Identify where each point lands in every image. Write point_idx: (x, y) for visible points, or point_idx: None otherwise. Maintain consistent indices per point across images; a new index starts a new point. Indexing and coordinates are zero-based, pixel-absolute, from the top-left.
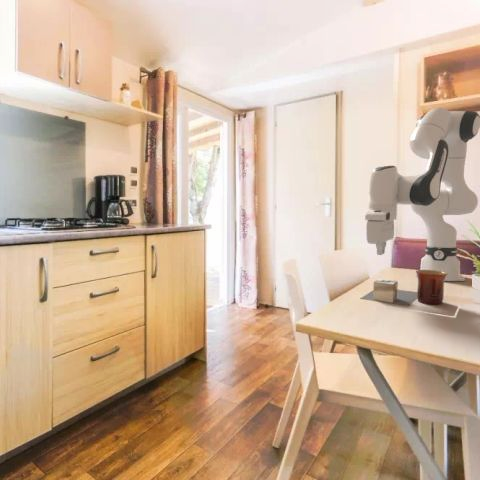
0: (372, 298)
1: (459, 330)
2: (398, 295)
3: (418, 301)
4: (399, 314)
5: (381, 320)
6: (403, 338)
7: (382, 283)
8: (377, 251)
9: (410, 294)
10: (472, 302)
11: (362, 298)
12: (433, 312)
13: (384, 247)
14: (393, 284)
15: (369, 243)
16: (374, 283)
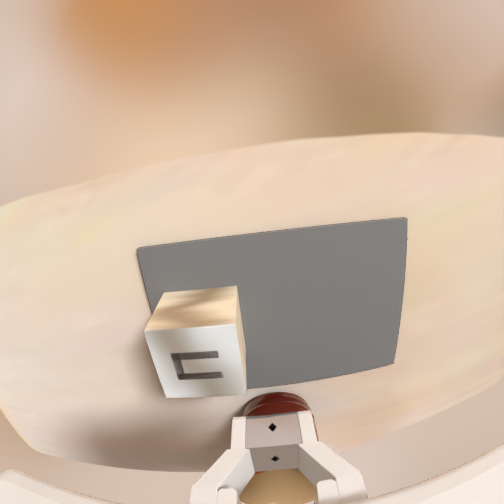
0: (176, 284)
1: (110, 456)
2: (302, 334)
3: (259, 396)
4: (99, 383)
5: (33, 360)
6: (9, 397)
7: (155, 362)
8: (232, 437)
9: (346, 353)
10: (356, 447)
11: (145, 256)
12: (186, 429)
13: (308, 478)
14: (172, 395)
15: (17, 472)
16: (146, 330)
